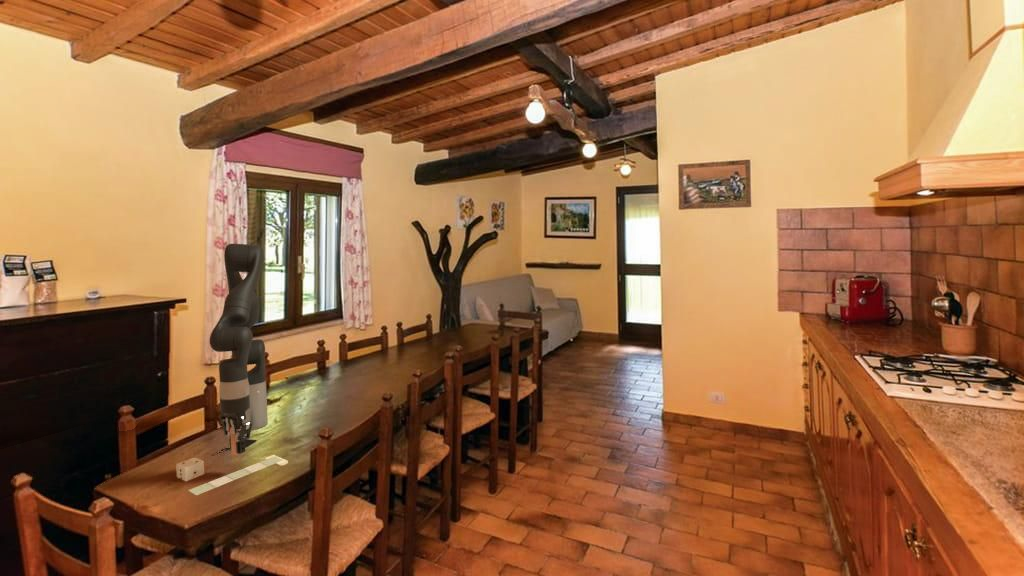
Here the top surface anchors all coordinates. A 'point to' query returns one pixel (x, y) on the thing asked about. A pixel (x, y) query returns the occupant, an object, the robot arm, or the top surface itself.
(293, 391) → the top surface
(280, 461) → the board
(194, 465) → the die
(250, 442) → the smartphone
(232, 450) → the pawn
